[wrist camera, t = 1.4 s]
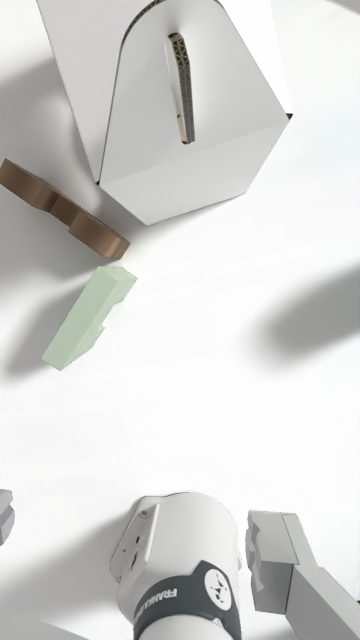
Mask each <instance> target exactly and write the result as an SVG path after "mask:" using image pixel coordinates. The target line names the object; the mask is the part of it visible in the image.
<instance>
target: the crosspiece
mask: <svg viewBox="0 0 360 640" xmlns="http://www.w3.org/2000/svg"><path fill="white" fill-rule="evenodd" d="M137 279H138V278H137V277H135V276H134V275H133V274H131V273H130V272H128V271H127V270H126V269H124V268H123V267H97V269H96V270H95V272H94V273H93V275H92V277H91V278H90V280H89V282H88V283H87V285H86V286H85V288H84V290H83V291H82V293H81V294H80V296H79V298H78V299H77V301H76V302H75V304H74V306H73V307H72V309H71V311H70V312H69V314H68V315H67V317H66V319H65V320H64V322H63V323H62V325H61V327H60V328H59V330H58V331H57V333H56V335H55V336H54V338H53V340H52V341H51V343H50V344H49V346H48V348H47V349H46V351H45V352H44V354H43V356H42V357H41V359H42V360H44V361H45V362H47V363H48V364H50V365H51V366H53V367H54V368H56V369H57V370H59V371H61V370H63V369H64V368H65V367H67V366H68V365H69V364H71V363H72V362H73V361H75V360H76V359H77V358H79V357H80V356H82V355H83V354H84V353H86V352H87V351H88V350H90V349H91V348H92V347H93V345H94V344H95V342H96V341H97V339H98V338H99V336H100V335H101V333H102V332H103V330H104V328H105V327H104V326H102V325H101V324H102V323H103V321H104V320H105V318H106V317H107V315H108V314H109V312H110V310H111V309H112V307H113V306H114V304H116V303H118V302H121V301H123V300H124V298H125V297H126V295H127V294H128V292H129V291H130V289H131V288H132V286H133V285H134V283H135V282H136V280H137Z"/></svg>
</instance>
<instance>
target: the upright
mask: <svg viewBox="0 0 360 640" xmlns="http://www.w3.org/2000/svg"><path fill="white" fill-rule="evenodd" d="M0 184H1V185H3V186H4V187H6V188H7V189H9V190H10V191H11V192H13V193H14V194H16V195H17V196H18V197H20V198H21V199H23V200H24V201H25V202H27V203H28V204H30V205H31V206H33V207H36V208H38V209H41V210H44V211H46V212H49V213H51V214H52V215H53V216H55V217H56V218H58V219H59V220H60V221H62V222H63V223H65V224H66V225H68V226H69V227H70V229H69V230H68V232H69V233H71V234H72V235H74V236H75V237H76V238H78V239H79V240H81V241H82V242H83V243H85V244H86V245H88V246H89V247H91V248H92V249H93V250H95V251H96V252H98V253H99V254H100V255H102V256H103V257H108V258H116V259H121V258H122V256H123V254H124V253H125V251H126V250H127V248H128V247H129V245H130V242H129V241H127V240H126V239H124V238H123V237H122V236H120V235H119V234H117V233H116V232H115V231H113V230H112V229H110V228H109V227H108V226H106V225H105V224H103V223H102V222H101V221H99V220H98V219H96V218H95V217H94V216H92V215H91V214H89V213H88V212H87V211H85V210H84V209H83V208H81V207H80V206H78V205H77V204H76V203H74V202H73V201H71V200H70V199H69V198H67V197H66V196H64V195H63V194H62V193H60V192H59V191H57V190H56V189H55V188H53V187H52V186H50V185H49V184H48V183H46V182H45V181H43V180H42V179H41V178H39V177H37V176H35V175H34V174H32V173H30V172H28V171H27V170H25V169H23V168H21V167H20V166H18V165H16V164H14V163H13V162H11V161H9V160H7V159H6V158H5V160H4V162H3V164H2V166H1V168H0Z"/></svg>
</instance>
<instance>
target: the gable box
mask: <svg viewBox="0 0 360 640" xmlns="http://www.w3.org/2000/svg"><path fill="white" fill-rule="evenodd" d="M36 2H37V5H38V8H39V11H40V14H41V17H42V20H43V23H44V26H45V30H46V33H47V36H48V39H49V42H50V45H51V48H52V51H53V54H54V57H55V60H56V63H57V67H58V70H59V73H60V76H61V79H62V82H63V85H64V88H65V91H66V94H67V97H68V101H69V104H70V107H71V110H72V113H73V116H74V119H75V122H76V125H77V128H78V131H79V135H80V138H81V141H82V144H83V147H84V150H85V153H86V156H87V159H88V162H89V165H90V169H91V172H92V175H93V178H94V181H95V184H96V185H97V186H99V187H100V188H101V189H102V190H104V191H105V192H106V193H107V194H108V195H110V196H111V197H112V198H113V199H114V200H116V201H117V202H118V203H119V204H120V205H122V206H123V207H124V208H125V209H127V210H128V211H129V212H130V213H131V214H133V215H134V216H135V217H136V218H137V219H139V220H140V221H141V222H142V223H143V224H145V225H150V224H153V223H157V222H160V221H163V220H166V219H169V218H172V217H175V216H178V215H181V214H184V213H187V212H190V211H193V210H196V209H200V208H203V207H206V206H209V205H212V204H215V203H218V202H221V201H224V200H227V199H230V198H233V197H236V196H239V195H243V194H244V193H246V191H247V189H248V188H249V186H250V184H251V183H252V181H253V180H254V178H255V176H256V175H257V173H258V171H259V170H260V168H261V166H262V165H263V163H264V162H265V160H266V158H267V157H268V155H269V153H270V152H271V150H272V149H273V147H274V145H275V144H276V142H277V140H278V139H279V137H280V135H281V134H282V132H283V131H284V129H285V127H286V126H287V124H288V122H289V121H290V119H291V117H292V116H293V111H292V106H291V101H290V96H289V91H288V87H287V82H286V77H285V72H284V67H283V62H282V57H281V53H280V48H279V43H278V38H277V33H276V28H275V23H274V18H273V14H272V9H271V4H270V0H36Z"/></svg>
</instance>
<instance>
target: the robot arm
mask: <svg viewBox="0 0 360 640" xmlns="http://www.w3.org/2000/svg"><path fill="white" fill-rule="evenodd" d="M12 500H13V496H12V491H9V490H3V489H0V546H1V545H2V544H4V542H5V541H6V539H7V537H8V536H9V534H10V532H11V529H12V527H13V524H14V518H15V513H14V509H13V508H12V507H11V506H10V505H9V504H10V503H11V501H12ZM145 511H146V512H145ZM247 520H248V525H249V529H248V530H246V539H245V540H246V558H247V564H248V568H249V569H250V571H251V572H252V577H251V588H252V594H253V600H254V606H255V611H261V612H268V613H275V614H282V615H286V619H287V620H288V622H289V623H290V625H291V626H292V628H293V629H294V631H295V633H296V634H297V636H298V637H299V639H300V640H360V604H359V603H358V602H357V601H356V600H355V599H354V598H353V597H352V596H351V595H350V594H349V593H348V592H347V591H346V590H345V589H344V588H343V587H342V586H341V585H340V584H339V583H338V582H337V581H336V580H335V579H334V578H333V577H332V576H331V575H330V574H329V573H328V572H327V571H326V570H325V569H324V568H323V567H318V565H317V562H316V560H315V557H314V555H313V552H312V550H311V547H310V545H309V542H308V540H307V537H306V535H305V532H304V530H303V528H302V525H301V523H300V520H299V518H298V516H297V515H296V514H295V513H281V512H280V513H279V512H269V511H255V510H249V512H248V519H247ZM241 566H242V563H241V555H240V553H239V550H238V548H237V527H236V523H235V521H234V518H233V517H232V515H231V514H230V512H229V511H228V510H227V509H226V508H225V507H224V506H223V505H222V504H221V503H219V502H218V501H216V500H214V499H212V498H210V497H208V496H205V495H201V494H196V493H179V494H175V495H171V496H167V497H151V496H150V497H144V498H142V499H141V501H140V503H139V505H138V507H137V509H136V511H135V513H134V515H133V517H132V519H131V521H130V523H129V525H128V527H127V529H126V531H125V533H124V535H123V537H122V539H121V541H120V543H119V546H118V548H117V550H116V552H115V554H114V556H113V558H112V560H111V563H110V571H111V573H112V575H113V577H114V578H115V579H116V581H117V582H118V583H119V584H120V586H119V591H118V596H117V603H118V606H119V609H120V611H121V612H122V614H123V615H124V616H125V618H126V619H127V620H128V621H129V622H130V623H131V624H132V625H133V631H134V640H243V637H242V632H241V626H240V617H239V616H240V599H239V575H238V571H239V570H240V569H241Z"/></svg>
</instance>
